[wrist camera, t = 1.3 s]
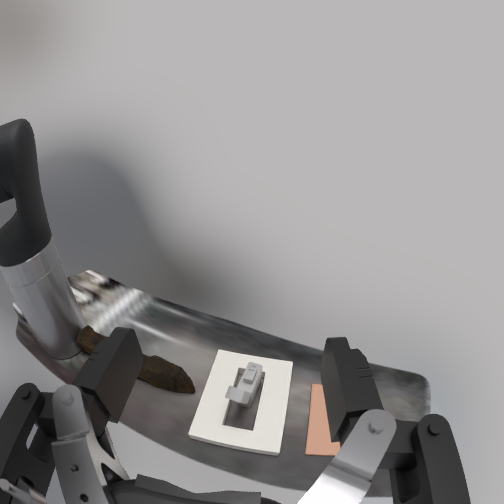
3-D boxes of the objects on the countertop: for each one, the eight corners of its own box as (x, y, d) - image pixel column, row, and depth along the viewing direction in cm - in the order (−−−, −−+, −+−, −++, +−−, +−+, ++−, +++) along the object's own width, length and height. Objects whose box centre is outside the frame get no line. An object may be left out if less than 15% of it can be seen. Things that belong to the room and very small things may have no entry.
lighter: (248, 379, 33) (249, 342, 28) (260, 382, 32) (265, 346, 28) (227, 423, 27) (224, 394, 23) (241, 428, 26) (241, 400, 22)
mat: (304, 454, 23) (305, 453, 23) (311, 385, 32) (312, 384, 31) (370, 455, 22) (371, 454, 22) (368, 389, 31) (369, 387, 30)
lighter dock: (190, 437, 25) (188, 434, 24) (219, 355, 36) (218, 349, 35) (277, 455, 23) (279, 452, 23) (291, 367, 34) (292, 361, 33)
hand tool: (81, 354, 33) (69, 334, 30) (96, 337, 36) (85, 317, 34) (186, 411, 28) (179, 394, 26) (199, 386, 31) (195, 368, 29)
